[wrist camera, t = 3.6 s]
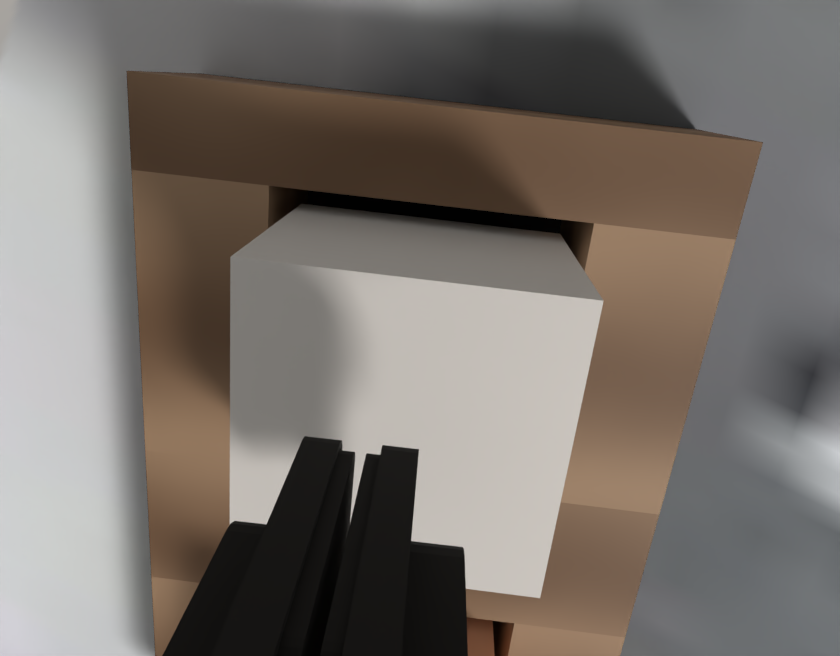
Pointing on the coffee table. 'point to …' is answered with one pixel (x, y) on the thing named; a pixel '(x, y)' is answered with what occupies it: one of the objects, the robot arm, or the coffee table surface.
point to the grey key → (416, 371)
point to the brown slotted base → (446, 186)
